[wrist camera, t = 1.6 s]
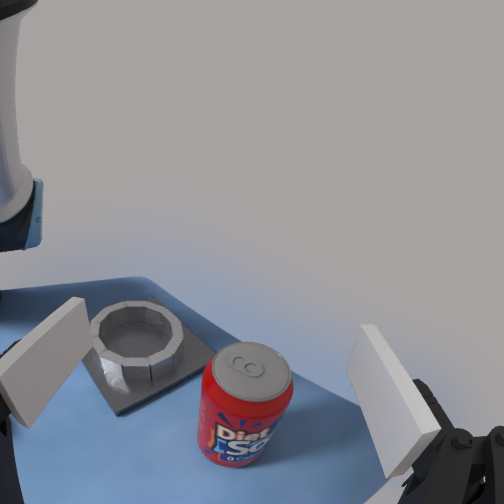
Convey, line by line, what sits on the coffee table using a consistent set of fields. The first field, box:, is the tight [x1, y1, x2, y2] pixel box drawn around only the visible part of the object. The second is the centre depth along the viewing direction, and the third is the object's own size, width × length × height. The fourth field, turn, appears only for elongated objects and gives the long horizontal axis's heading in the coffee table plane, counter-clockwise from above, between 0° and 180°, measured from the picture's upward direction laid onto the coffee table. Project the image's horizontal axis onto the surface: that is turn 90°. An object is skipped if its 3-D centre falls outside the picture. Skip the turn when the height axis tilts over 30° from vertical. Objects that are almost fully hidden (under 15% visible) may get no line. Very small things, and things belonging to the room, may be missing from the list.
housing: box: [82, 297, 216, 416], centre depth 37 cm, size 18×18×4 cm
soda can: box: [197, 342, 293, 468], centre depth 24 cm, size 8×8×15 cm
